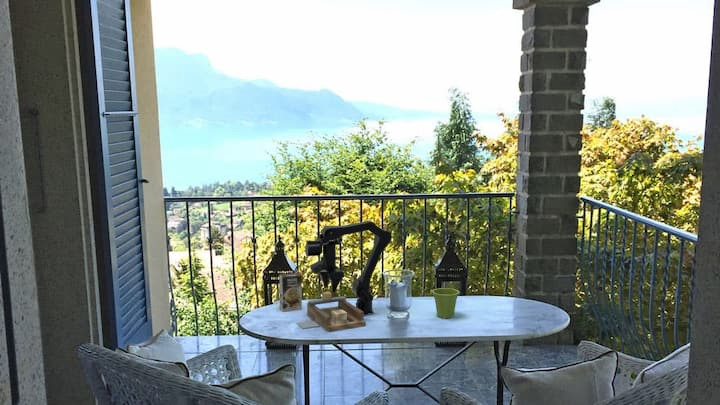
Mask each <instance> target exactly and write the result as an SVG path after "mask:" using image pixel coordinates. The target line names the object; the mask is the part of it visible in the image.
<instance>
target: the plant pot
mask: <svg viewBox="0 0 720 405" xmlns="http://www.w3.org/2000/svg"><path fill="white" fill-rule="evenodd" d="M431 292H432V294H433V297H434V301H435V302H434V303H435V308H436V315H437V317H439V318H442V319H448V318H449V319H450V318H453V317H454V316H455V311H456V304H457V299H458V295H459V294H460V291H459V290H458V289H455V288H448V287H447V288H446V287H444V288H443V287H441V288H439V287H438V288H434V289H432V291H431Z"/></svg>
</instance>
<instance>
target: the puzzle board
mask: <svg viewBox="0 0 720 405" xmlns="http://www.w3.org/2000/svg"><path fill="white" fill-rule="evenodd" d="M335 310H344V311H345V312H347V323H341V324H334V323H333V322H332V321H331V311H335ZM306 314H307V315H306V316H308V317H309V318H310V319H311V320H312V321H314V322H316V323H317V324H318V325H319V326H320V327H322V329H324V330H325V331H327V332H328V333H330V332H337V331H342V330H349V329H355V328H361V327H366V326H367V321H366V320H365V318H364V316H365V315H364V312H363V311H361V310H360V309H358V308H357V307H356V305H353V304H352V303H351V302H349V301H347V300H346V301H339V302H337V306H330V307H322V308H319V307H318V306H317V305H310V304H308V302H307V303H306Z"/></svg>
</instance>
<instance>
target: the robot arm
mask: <svg viewBox="0 0 720 405" xmlns="http://www.w3.org/2000/svg"><path fill="white" fill-rule="evenodd" d="M367 231H368V232H370V233H371V234H372V235H374V237H373V246H372V249H371V252H370V253H369V256H368V258H367V261H366V264H365V266H364V268H363V270H362V272H361V274H360V275H359V277H356V276H355V277H354V280H353V283H352V284H351V287H352V288H351V290H352V293H353V294H355V296H356V297H357V298H356V302H355V307H357V308H358V309H360V310H361V311H363V312H364V316H365V315H372V314H374V313H375V312H374V311H373V300H374V296H373V294H371V293H370V288H371V279H372V276H373V274H374V272H375V269H376V268H377V265H378V263H379V260H380V258H381V256H382V254H383V251H384V250H385V249H386V248H387V247H388V246H389V244H390V243H391V241H392V238H393V235H392V233H391V232H390V231H389V230H387V229H384V228H381V227H380V226H379V225H376V224H375V223H374V221H372V220H365V221H360V222H355V223H350V224H346V225H345V224H344V225H325V226H323V228H322V229H321V233H320V234H319V235H318V237H317V238H316V240H306V241H305V242H306V243H305V246H304V247H305V248H304V253H305V256H306V257H317V256H318V257H319V256H320V255H322V256H320V260H319V261H316V262H314V263H312V264H310V265H309V268H310V270H311V273H313V274H315V275H317V274H319V276H320V277H321V281H322V285H323V287H324V288H327V287H328V285H329V281H330V284H331V293H335V292H336V290H337V289H338V287H339V285H340V283H341V281H342V280H343V278H345V272H344V271H342V270H341V269H338V266H337V260H338V259H339V258H338V257H337V254H336V253H337V251H336V250H337V246H340V245H341V244H342V243H341V242H339V240H338V239H340V238H342V237H343V236H346V235H352V234H356V233H362V232H367Z"/></svg>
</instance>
